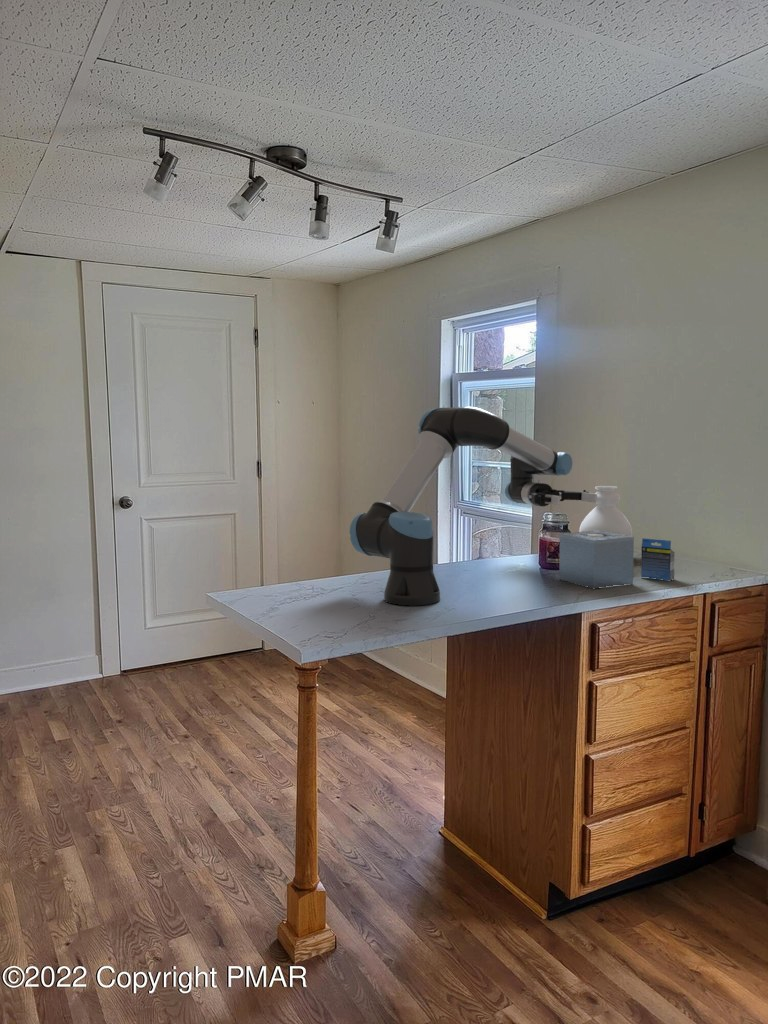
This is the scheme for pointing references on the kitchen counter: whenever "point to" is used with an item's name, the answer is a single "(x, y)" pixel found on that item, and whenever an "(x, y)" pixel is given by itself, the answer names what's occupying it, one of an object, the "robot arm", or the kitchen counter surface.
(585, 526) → the decorative vase
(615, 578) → the grey box with opening
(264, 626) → the kitchen counter surface
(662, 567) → the label tape box
